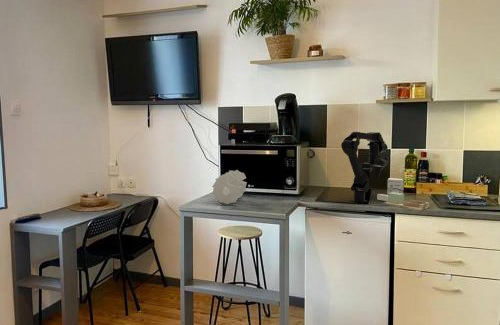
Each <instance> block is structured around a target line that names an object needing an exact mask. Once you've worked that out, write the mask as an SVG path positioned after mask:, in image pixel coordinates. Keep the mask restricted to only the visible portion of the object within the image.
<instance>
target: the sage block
mask: <svg viewBox="0 0 500 325" xmlns="http://www.w3.org/2000/svg"><path fill="white" fill-rule="evenodd" d="M376 199H377V200H378V201H379V200H380V201H384V202H392V203H398V204H400V203H403V202H404V201H405V193H403V192H402V193H396V192H391V193H388V195H387V194H382V193H377V194H376Z"/></svg>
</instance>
